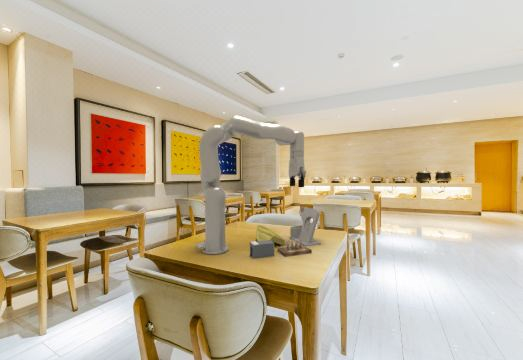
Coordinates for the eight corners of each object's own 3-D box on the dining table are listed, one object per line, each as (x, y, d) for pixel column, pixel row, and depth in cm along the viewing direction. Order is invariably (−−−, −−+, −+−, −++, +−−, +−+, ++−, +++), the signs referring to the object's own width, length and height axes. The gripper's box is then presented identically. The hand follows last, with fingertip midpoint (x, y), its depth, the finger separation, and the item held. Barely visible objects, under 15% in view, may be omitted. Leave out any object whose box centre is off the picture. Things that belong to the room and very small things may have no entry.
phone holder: (288, 237, 136) (288, 206, 136) (302, 235, 140) (303, 205, 140) (305, 246, 120) (306, 211, 120) (321, 243, 125) (322, 210, 124)
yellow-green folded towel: (286, 240, 122) (271, 234, 118) (280, 254, 122) (265, 248, 118) (270, 229, 140) (256, 223, 136) (265, 240, 140) (251, 235, 136)
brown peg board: (284, 256, 106) (284, 244, 105) (277, 251, 113) (277, 239, 113) (311, 253, 110) (311, 241, 110) (303, 247, 118) (303, 237, 118)
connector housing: (253, 258, 103) (253, 244, 103) (249, 255, 108) (249, 241, 108) (274, 256, 107) (274, 242, 106) (270, 252, 111) (270, 239, 111)
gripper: (283, 155, 133) (283, 185, 134) (298, 153, 117) (298, 187, 118) (295, 156, 136) (295, 185, 136) (311, 154, 120) (311, 187, 120)
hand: (296, 186), depth 127 cm, fingers open, 9 cm apart
